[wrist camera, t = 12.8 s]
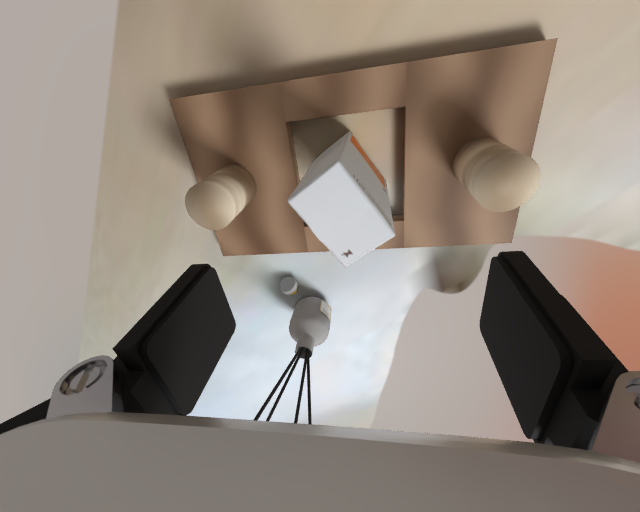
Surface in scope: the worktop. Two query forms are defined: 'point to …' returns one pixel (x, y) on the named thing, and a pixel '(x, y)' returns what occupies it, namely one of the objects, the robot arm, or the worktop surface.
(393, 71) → the walnut rail
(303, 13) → the worktop surface
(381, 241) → the skincare box
